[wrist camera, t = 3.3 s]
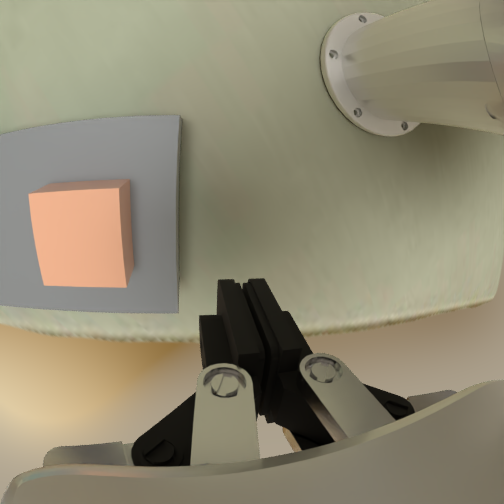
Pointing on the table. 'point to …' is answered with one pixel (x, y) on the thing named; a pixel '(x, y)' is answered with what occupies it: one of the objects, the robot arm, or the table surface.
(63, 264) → the terracotta block
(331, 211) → the table surface
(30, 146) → the slate bench plate
